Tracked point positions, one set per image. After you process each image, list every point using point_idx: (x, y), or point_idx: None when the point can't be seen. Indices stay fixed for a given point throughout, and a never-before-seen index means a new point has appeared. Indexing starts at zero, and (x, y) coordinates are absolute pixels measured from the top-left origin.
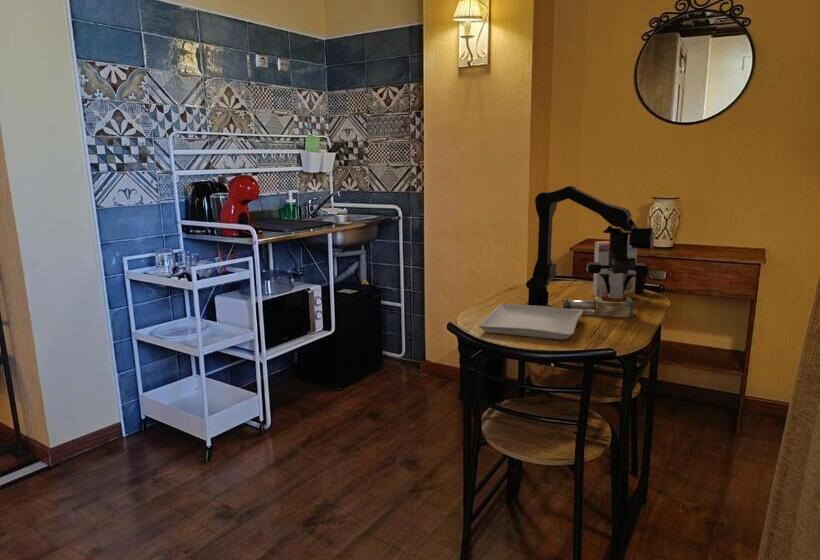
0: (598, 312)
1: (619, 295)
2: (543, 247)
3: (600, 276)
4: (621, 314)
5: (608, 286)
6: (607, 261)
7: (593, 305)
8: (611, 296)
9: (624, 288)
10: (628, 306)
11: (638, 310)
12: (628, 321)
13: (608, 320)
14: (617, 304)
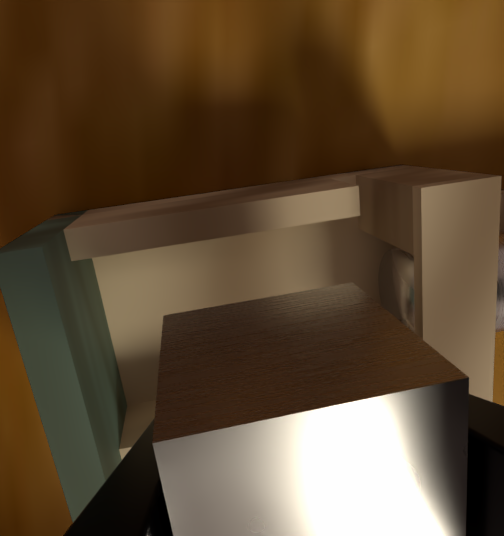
0: (401, 169)
1: (215, 327)
2: None
3: None
4: (166, 201)
5: (484, 420)
6: None
7: None
8: (337, 294)
9: (127, 479)
10: (88, 320)
11: (19, 490)
12: (86, 32)
13: (294, 22)
14: None
